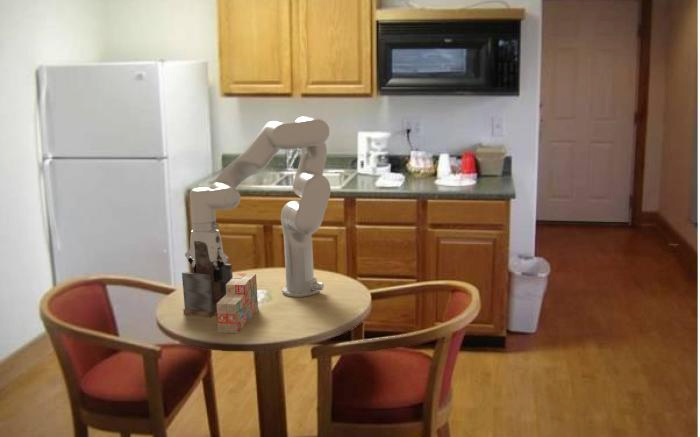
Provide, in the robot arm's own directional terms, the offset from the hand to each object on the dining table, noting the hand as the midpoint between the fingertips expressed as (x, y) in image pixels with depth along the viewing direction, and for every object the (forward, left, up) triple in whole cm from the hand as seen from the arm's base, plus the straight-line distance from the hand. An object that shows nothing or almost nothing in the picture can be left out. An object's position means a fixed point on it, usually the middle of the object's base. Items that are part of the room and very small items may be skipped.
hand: (208, 279), depth 248 cm
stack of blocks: (-15, +6, -10) cm, 19 cm away
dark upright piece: (0, 0, -7) cm, 7 cm away
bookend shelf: (0, 0, -10) cm, 10 cm away
